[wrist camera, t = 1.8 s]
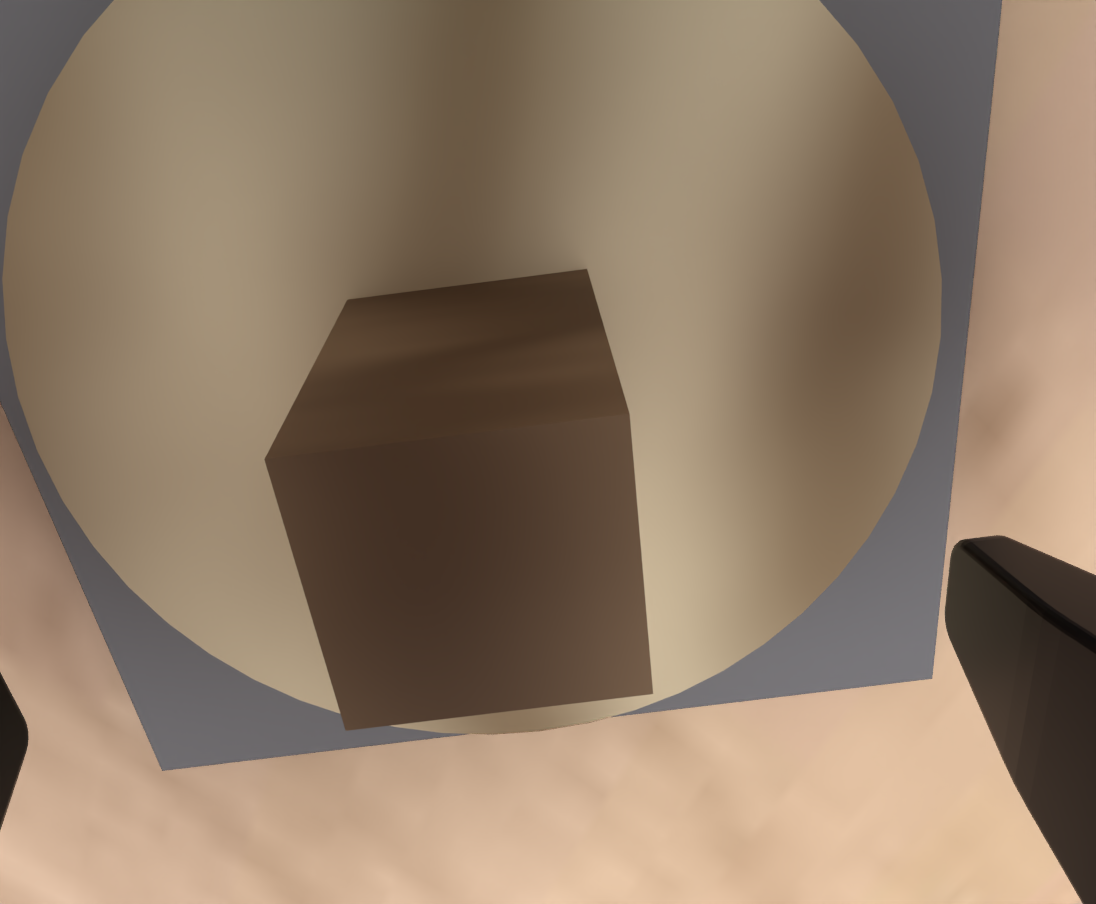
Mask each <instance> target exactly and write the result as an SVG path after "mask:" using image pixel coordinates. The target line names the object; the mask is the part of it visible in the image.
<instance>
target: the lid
mask: <svg viewBox="0 0 1096 904" xmlns="http://www.w3.org/2000/svg"><path fill="white" fill-rule="evenodd" d="M2 281H3V297H4V313H5V329H6V341H7V346H8V350H9V355H10V360H11V365H12V370H13V375H14V379H15V384H16V389H17V394H18V398H19V401H20V404H21V406H22V409H23V412H24V415H25V418H26V421H27V423H28V426H29V429H30V432H31V435H32V437H33V440H34V443H35V446H36V449H37V451H38V453H39V455H40V457H41V459H42V461H43V463H44V465H45V467H46V469H47V471H48V473H49V475H50V477H51V479H52V481H53V483H54V485H55V487H56V489H57V491H58V493H59V495H60V497H61V499H62V501H63V502H64V504H65V505H66V507H67V508H68V510H69V511H70V513H71V514H72V515H73V517H74V518H75V520H76V521H77V523H78V524H79V526H80V527H81V529H82V530H83V532H84V533H85V535H86V536H87V538H88V539H89V541H90V542H91V544H92V545H93V547H94V548H95V549H96V550H97V551H98V552H99V553H100V555H101V556H102V557H103V558H104V559H105V560H106V562H107V563H108V564H109V565H110V566H111V567H112V569H113V570H114V571H115V572H116V573H117V574H118V575H119V577H120V578H121V579H122V580H123V581H124V582H125V584H126V585H127V586H128V587H129V588H130V589H131V590H132V591H133V592H134V593H136V594H137V595H138V596H139V597H140V598H141V599H142V600H143V601H144V602H145V603H146V604H147V605H149V606H150V607H151V608H152V609H153V610H154V611H155V612H156V613H157V614H158V615H159V616H160V617H162V618H163V619H164V620H165V621H166V622H167V623H168V624H170V625H171V626H172V627H174V628H175V629H176V630H178V631H179V632H181V633H182V634H183V635H185V636H186V637H187V638H189V639H190V640H191V641H193V642H194V643H195V644H197V645H198V646H200V647H201V648H202V649H204V650H205V651H206V652H208V653H209V654H211V655H212V656H214V657H216V658H218V659H219V660H221V661H223V662H224V663H226V664H228V665H230V666H231V667H233V668H235V669H236V670H238V671H240V672H242V673H243V674H245V675H247V676H249V677H250V678H252V679H254V680H256V681H258V682H260V683H263V684H265V685H267V686H269V687H271V688H274V689H276V690H278V691H280V692H282V693H285V694H287V695H289V696H291V697H294V698H296V699H298V700H300V701H303V702H306V703H309V704H312V705H315V706H318V707H321V708H324V709H327V710H330V711H333V712H336V713H339V714H341V717H342V720H343V724H344V727H345V730H346V731H349V730H357V729H366V728H374V727H382V726H393V727H399V728H407V729H415V730H423V731H431V732H439V733H458V734H506V733H520V732H534V731H544V730H550V729H556V728H562V727H567V726H573V725H579V724H585V723H590V722H594V721H597V720H601V719H605V718H608V717H612V716H616V715H619V714H623V713H626V712H630V711H634V710H637V709H639V708H642V707H644V706H647V705H650V704H652V703H655V702H657V701H660V700H663V699H665V698H668V697H670V696H673V695H676V694H678V693H681V692H682V691H684V690H686V689H688V688H690V687H692V686H694V685H696V684H698V683H700V682H702V681H704V680H706V679H708V678H710V677H712V676H714V675H716V674H718V673H720V672H722V671H724V670H725V669H727V668H728V667H730V666H731V665H733V664H734V663H736V662H738V661H739V660H741V659H742V658H744V657H745V656H747V655H748V654H750V653H751V652H753V651H754V650H756V649H758V648H759V647H761V646H762V645H764V644H765V643H766V642H767V641H769V640H770V639H771V638H772V637H774V636H775V635H776V634H777V633H779V632H780V631H781V630H782V629H783V628H785V627H786V626H787V625H788V624H790V623H791V622H792V621H793V620H794V619H796V618H797V617H798V616H799V615H801V614H802V613H803V612H804V611H805V610H806V609H807V608H808V607H809V606H810V605H811V604H812V603H813V602H814V601H815V600H816V599H817V598H818V597H819V596H820V595H821V594H822V593H823V592H824V591H825V589H826V588H827V587H828V586H829V585H830V584H831V583H832V582H833V581H834V580H835V579H836V578H837V577H838V576H839V575H840V573H841V572H842V571H843V569H844V568H845V567H846V566H847V564H848V563H849V562H850V560H851V559H852V558H853V557H854V555H855V554H856V553H857V551H858V550H859V549H860V548H861V546H862V545H863V544H864V542H865V541H866V540H867V539H868V537H869V536H870V534H871V532H872V531H873V529H874V527H875V526H876V524H877V522H878V521H879V519H880V517H881V516H882V514H883V512H884V511H885V509H886V507H887V506H888V504H889V502H890V501H891V499H892V497H893V496H894V494H895V492H896V490H897V488H898V485H899V483H900V481H901V479H902V476H903V474H904V472H905V470H906V467H907V465H908V463H909V460H910V458H911V456H912V454H913V451H914V449H915V447H916V445H917V441H918V438H919V435H920V431H921V428H922V425H923V421H924V418H925V414H926V411H927V408H928V404H929V401H930V398H931V394H932V389H933V383H934V377H935V370H936V364H937V358H938V351H939V345H940V338H941V296H942V277H941V269H940V260H939V252H938V244H937V236H936V227H935V220H934V216H933V212H932V209H931V205H930V201H929V198H928V194H927V190H926V186H925V183H924V179H923V175H922V172H921V168H920V164H919V161H918V158H917V156H916V154H915V151H914V149H913V147H912V144H911V142H910V140H909V137H908V135H907V133H906V131H905V128H904V126H903V124H902V121H901V119H900V117H899V115H898V112H897V110H896V108H895V105H894V103H893V101H892V99H891V98H890V96H889V94H888V93H887V91H886V90H885V88H884V86H883V85H882V83H881V82H880V80H879V78H878V77H877V75H876V74H875V72H874V70H873V69H872V67H871V66H870V64H869V62H868V61H867V59H866V58H865V56H864V54H863V53H862V51H861V50H860V48H859V46H858V45H857V44H856V42H855V41H854V40H853V39H852V38H851V37H850V35H849V34H848V33H847V32H846V31H845V30H844V28H843V27H842V26H841V25H840V24H839V23H838V21H837V20H836V19H835V18H834V17H833V16H832V14H831V13H830V12H829V11H828V10H827V9H826V7H825V6H824V5H823V4H822V3H821V2H820V0H114V1H113V2H112V3H111V4H110V5H109V6H108V7H107V9H106V10H105V11H104V12H103V13H102V14H101V16H100V17H99V18H98V19H97V20H96V21H95V23H94V24H93V25H92V26H91V27H90V28H89V29H88V31H87V32H86V33H85V34H84V35H83V37H82V39H81V40H80V42H79V43H78V45H77V47H76V48H75V50H74V52H73V53H72V55H71V56H70V58H69V60H68V61H67V63H66V65H65V66H64V68H63V69H62V71H61V73H60V74H59V76H58V78H57V79H56V81H55V82H54V84H53V86H52V87H51V89H50V91H49V92H48V94H47V97H46V99H45V101H44V104H43V106H42V109H41V111H40V113H39V116H38V118H37V121H36V123H35V126H34V128H33V130H32V133H31V135H30V138H29V140H28V142H27V145H26V147H25V150H24V152H23V155H22V159H21V163H20V167H19V171H18V175H17V180H16V184H15V188H14V192H13V196H12V200H11V205H10V209H9V213H8V217H7V229H6V241H5V253H4V265H3V277H2Z"/></svg>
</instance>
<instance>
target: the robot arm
mask: <svg viewBox="0 0 1096 904" xmlns="http://www.w3.org/2000/svg"><path fill="white" fill-rule="evenodd" d="M945 623H946V628H947V632H948V635H949V638H950V641H951V643H952V645H953V648H954V650H955V652H956V654H957V657H958V659H959V661H960V663H961V666H962V668H963V670H964V673H965V675H966V677H967V679H968V682H969V684H970V686H971V688H972V691H973V693H974V695H975V698H976V700H977V702H978V704H979V707H980V709H981V711H982V714H983V716H984V718H985V720H986V723H987V725H988V727H989V729H990V732H991V734H992V736H993V739H994V741H995V743H996V745H997V748H998V750H999V752H1000V754H1001V757H1002V759H1003V761H1004V763H1005V765H1006V767H1007V770H1008V772H1009V774H1010V776H1011V778H1012V780H1013V782H1014V784H1015V786H1016V788H1017V790H1018V792H1019V793H1020V795H1021V797H1022V799H1023V801H1024V803H1025V804H1026V806H1027V808H1028V810H1029V811H1030V813H1031V815H1032V817H1033V818H1034V820H1035V822H1036V824H1037V825H1038V827H1039V829H1040V830H1041V832H1042V834H1043V836H1044V837H1045V839H1046V841H1047V843H1048V844H1049V846H1050V848H1051V849H1052V851H1053V853H1054V855H1055V856H1056V858H1057V860H1058V862H1059V863H1060V865H1061V867H1062V868H1063V870H1064V872H1065V874H1066V875H1067V877H1068V879H1069V881H1070V882H1071V884H1072V886H1073V887H1074V889H1075V891H1076V893H1077V894H1078V896H1079V898H1080V900H1081V901H1082V903H1083V904H1096V575H1094V574H1092V573H1089V572H1087V571H1085V570H1082V569H1080V568H1078V567H1075V566H1073V565H1071V564H1068V563H1066V562H1064V561H1062V560H1059V559H1057V558H1055V557H1052V556H1050V555H1048V554H1045V553H1043V552H1041V551H1038V550H1036V549H1034V548H1031V547H1029V546H1027V545H1024V544H1022V543H1020V542H1017V541H1015V540H1013V539H1010V538H1008V537H1005V536H999V535H996V536H988V537H980V538H972V539H964V540H960V541H959V542H958V543H957V544H956V545H955V546H954V548H953V550H952V553H951V559H950V568H949V577H948V587H947V596H946V605H945ZM27 746H28V728H27V724H26V721H25V719H24V717H23V715H22V713H21V711H20V709H19V707H18V705H17V703H16V702H15V700H14V698H13V696H12V694H11V692H10V690H9V688H8V686H7V684H6V682H5V680H4V679H3V677H2V675H1V673H0V830H1V827H2V824H3V821H4V818H5V815H6V812H7V809H8V806H9V803H10V800H11V797H12V794H13V790H14V787H15V784H16V781H17V778H18V775H19V772H20V769H21V766H22V763H23V760H24V757H25V754H26V751H27Z"/></svg>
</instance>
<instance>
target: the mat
mask: <svg viewBox="0 0 1096 904" xmlns="http://www.w3.org/2000/svg"><path fill="white" fill-rule="evenodd" d="M113 1H114V0H0V402H1V405H2V407H3V409H4V411H5V414H6V416H7V418H8V420H9V423H10V425H11V427H12V430H13V432H14V434H15V436H16V439H17V441H18V443H19V446H20V448H21V450H22V452H23V455H24V457H25V459H26V461H27V464H28V466H29V468H30V471H31V473H32V475H33V477H34V480H35V482H36V484H37V487H38V489H39V491H40V493H41V496H42V498H43V500H44V502H45V505H46V507H47V509H48V512H49V514H50V516H51V518H52V521H53V523H54V525H55V528H56V530H57V532H58V534H59V537H60V539H61V541H62V543H63V546H64V548H65V550H66V553H67V555H68V557H69V559H70V562H71V564H72V566H73V569H74V571H75V573H76V575H77V578H78V580H79V582H80V584H81V587H82V589H83V591H84V594H85V596H86V598H87V600H88V603H89V605H90V607H91V609H92V612H93V614H94V616H95V619H96V621H97V623H98V625H99V628H100V630H101V632H102V635H103V637H104V639H105V641H106V644H107V646H108V648H109V650H110V653H111V655H112V657H113V660H114V662H115V664H116V666H117V669H118V671H119V673H120V676H121V678H122V680H123V682H124V685H125V687H126V689H127V691H128V694H129V696H130V698H131V701H132V703H133V705H134V707H135V710H136V712H137V714H138V717H139V719H140V721H141V723H142V726H143V728H144V730H145V732H146V735H147V737H148V739H149V742H150V744H151V746H152V748H153V751H154V753H155V755H156V758H157V760H158V762H159V764H160V767H161V769H162V771H165V770H173V769H181V768H190V767H198V766H206V765H215V764H223V763H231V762H240V761H248V760H256V759H265V758H273V757H282V756H290V755H298V754H307V753H315V752H323V751H332V750H340V749H348V748H357V747H365V746H373V745H382V744H390V743H398V742H407V741H415V740H424V739H432V738H440V737H449V736H457V735H465V734H458V733H439V732H431V731H423V730H415V729H407V728H399V727H393V726H382V727H374V728H366V729H357V730H349V731H346V730H345V727H344V724H343V720H342V717H341V714H339V713H336V712H333V711H330V710H327V709H324V708H321V707H318V706H315V705H312V704H309V703H306V702H303V701H300V700H298V699H296V698H294V697H291V696H289V695H287V694H285V693H282V692H280V691H278V690H276V689H274V688H271V687H269V686H267V685H265V684H263V683H260V682H258V681H256V680H254V679H252V678H250V677H249V676H247V675H245V674H243V673H242V672H240V671H238V670H236V669H235V668H233V667H231V666H230V665H228V664H226V663H224V662H223V661H221V660H219V659H218V658H216V657H214V656H212V655H211V654H209V653H208V652H206V651H205V650H204V649H202V648H201V647H200V646H198V645H197V644H195V643H194V642H193V641H191V640H190V639H189V638H187V637H186V636H185V635H183V634H182V633H181V632H179V631H178V630H176V629H175V628H174V627H172V626H171V625H170V624H168V623H167V622H166V621H165V620H164V619H163V618H162V617H160V616H159V615H158V614H157V613H156V612H155V611H154V610H153V609H152V608H151V607H150V606H149V605H147V604H146V603H145V602H144V601H143V600H142V599H141V598H140V597H139V596H138V595H137V594H136V593H134V592H133V591H132V590H131V589H130V588H129V587H128V586H127V585H126V584H125V582H124V581H123V580H122V579H121V578H120V577H119V575H118V574H117V573H116V572H115V571H114V570H113V569H112V567H111V566H110V565H109V564H108V563H107V562H106V560H105V559H104V558H103V557H102V556H101V555H100V553H99V552H98V551H97V550H96V549H95V548H94V547H93V545H92V544H91V542H90V541H89V539H88V538H87V536H86V535H85V533H84V532H83V530H82V529H81V527H80V526H79V524H78V523H77V521H76V520H75V518H74V517H73V515H72V514H71V513H70V511H69V510H68V508H67V507H66V505H65V504H64V502H63V501H62V499H61V497H60V495H59V493H58V491H57V489H56V487H55V485H54V483H53V481H52V479H51V477H50V475H49V473H48V471H47V469H46V467H45V465H44V463H43V461H42V459H41V457H40V455H39V453H38V451H37V449H36V446H35V443H34V440H33V437H32V435H31V432H30V429H29V426H28V423H27V421H26V418H25V415H24V412H23V409H22V406H21V404H20V401H19V398H18V394H17V389H16V384H15V379H14V375H13V370H12V365H11V360H10V355H9V350H8V346H7V341H6V329H5V313H4V297H3V281H2V277H3V265H4V253H5V241H6V229H7V217H8V213H9V209H10V205H11V200H12V196H13V192H14V188H15V184H16V180H17V175H18V171H19V167H20V163H21V159H22V155H23V152H24V150H25V147H26V145H27V142H28V140H29V138H30V135H31V133H32V130H33V128H34V126H35V123H36V121H37V118H38V116H39V113H40V111H41V109H42V106H43V104H44V101H45V99H46V97H47V94H48V92H49V91H50V89H51V87H52V86H53V84H54V82H55V81H56V79H57V78H58V76H59V74H60V73H61V71H62V69H63V68H64V66H65V65H66V63H67V61H68V60H69V58H70V56H71V55H72V53H73V52H74V50H75V48H76V47H77V45H78V43H79V42H80V40H81V39H82V37H83V35H84V34H85V33H86V32H87V31H88V29H89V28H90V27H91V26H92V25H93V24H94V23H95V21H96V20H97V19H98V18H99V17H100V16H101V14H102V13H103V12H104V11H105V10H106V9H107V7H108V6H109V5H110V4H111V3H112V2H113ZM820 2H821V3H822V4H823V5H824V6H825V7H826V9H827V10H828V11H829V12H830V13H831V14H832V16H833V17H834V18H835V19H836V20H837V21H838V23H839V24H840V25H841V26H842V27H843V28H844V30H845V31H846V32H847V33H848V34H849V35H850V37H851V38H852V39H853V40H854V41H855V42H856V44H857V45H858V46H859V48H860V50H861V51H862V53H863V54H864V56H865V58H866V59H867V61H868V62H869V64H870V66H871V67H872V69H873V70H874V72H875V74H876V75H877V77H878V78H879V80H880V82H881V83H882V85H883V86H884V88H885V90H886V91H887V93H888V94H889V96H890V98H891V99H892V101H893V103H894V105H895V108H896V110H897V112H898V115H899V117H900V119H901V121H902V124H903V126H904V128H905V131H906V133H907V135H908V137H909V140H910V142H911V144H912V147H913V149H914V151H915V154H916V156H917V158H918V161H919V164H920V168H921V172H922V175H923V179H924V183H925V186H926V190H927V194H928V198H929V201H930V205H931V209H932V212H933V216H934V220H935V227H936V236H937V244H938V252H939V260H940V269H941V277H942V296H941V338H940V345H939V351H938V358H937V364H936V370H935V377H934V383H933V389H932V394H931V398H930V401H929V404H928V408H927V411H926V414H925V418H924V421H923V425H922V428H921V431H920V435H919V438H918V441H917V445H916V447H915V449H914V451H913V454H912V456H911V458H910V460H909V463H908V465H907V467H906V470H905V472H904V474H903V476H902V479H901V481H900V483H899V485H898V488H897V490H896V492H895V494H894V496H893V497H892V499H891V501H890V502H889V504H888V506H887V507H886V509H885V511H884V512H883V514H882V516H881V517H880V519H879V521H878V522H877V524H876V526H875V527H874V529H873V531H872V532H871V534H870V536H869V537H868V539H867V540H866V541H865V542H864V544H863V545H862V546H861V548H860V549H859V550H858V551H857V553H856V554H855V555H854V557H853V558H852V559H851V560H850V562H849V563H848V564H847V566H846V567H845V568H844V569H843V571H842V572H841V573H840V575H839V576H838V577H837V578H836V579H835V580H834V581H833V582H832V583H831V584H830V585H829V586H828V587H827V588H826V589H825V591H824V592H823V593H822V594H821V595H820V596H819V597H818V598H817V599H816V600H815V601H814V602H813V603H812V604H811V605H810V606H809V607H808V608H807V609H806V610H805V611H804V612H803V613H802V614H801V615H799V616H798V617H797V618H796V619H794V620H793V621H792V622H791V623H790V624H788V625H787V626H786V627H785V628H783V629H782V630H781V631H780V632H779V633H777V634H776V635H775V636H774V637H772V638H771V639H770V640H769V641H767V642H766V643H765V644H764V645H762V646H761V647H759V648H758V649H756V650H754V651H753V652H751V653H750V654H748V655H747V656H745V657H744V658H742V659H741V660H739V661H738V662H736V663H734V664H733V665H731V666H730V667H728V668H727V669H725V670H724V671H722V672H720V673H718V674H716V675H714V676H712V677H710V678H708V679H706V680H704V681H702V682H700V683H698V684H696V685H694V686H692V687H690V688H688V689H686V690H684V691H682V692H681V693H678V694H676V695H673V696H670V697H668V698H665V699H663V700H660V701H657V702H655V703H652V704H650V705H647V706H644V707H642V708H639V709H637V710H634V711H630V712H626V713H623V714H619V715H616V716H624V715H632V714H641V713H649V712H657V711H666V710H674V709H683V708H691V707H699V706H708V705H716V704H724V703H733V702H741V701H749V700H758V699H766V698H774V697H783V696H791V695H799V694H808V693H816V692H825V691H833V690H841V689H850V688H858V687H866V686H875V685H883V684H891V683H900V682H908V681H916V680H925V679H932V674H933V665H934V655H935V645H936V636H937V626H938V616H939V607H940V597H941V587H942V578H943V568H944V558H945V549H946V539H947V529H948V519H949V510H950V500H951V490H952V481H953V471H954V461H955V452H956V442H957V432H958V423H959V413H960V403H961V394H962V384H963V374H964V365H965V355H966V345H967V336H968V326H969V316H970V307H971V297H972V287H973V278H974V268H975V258H976V248H977V239H978V229H979V219H980V210H981V200H982V190H983V181H984V171H985V161H986V152H987V142H988V132H989V123H990V113H991V103H992V94H993V84H994V74H995V65H996V55H997V45H998V36H999V26H1000V16H1001V7H1002V0H820ZM616 716H612V717H616Z"/></svg>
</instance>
